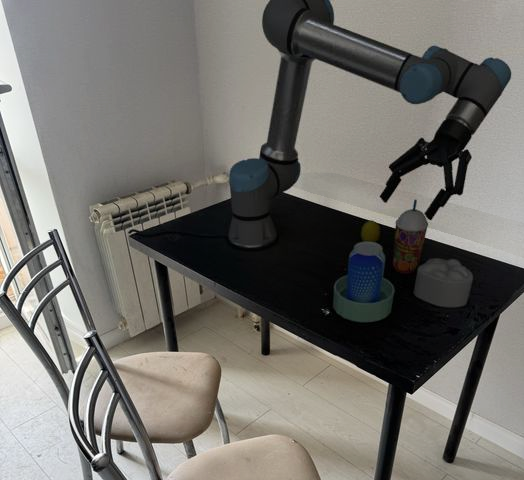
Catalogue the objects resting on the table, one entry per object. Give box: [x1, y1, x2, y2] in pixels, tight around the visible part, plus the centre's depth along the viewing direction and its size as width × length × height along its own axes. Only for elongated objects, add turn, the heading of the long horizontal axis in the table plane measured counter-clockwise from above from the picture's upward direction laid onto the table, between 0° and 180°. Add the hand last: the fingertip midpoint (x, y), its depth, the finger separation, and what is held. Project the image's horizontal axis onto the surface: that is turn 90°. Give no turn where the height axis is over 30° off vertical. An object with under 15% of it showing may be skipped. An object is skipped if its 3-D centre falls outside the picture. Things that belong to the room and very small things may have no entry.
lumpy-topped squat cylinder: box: [413, 257, 474, 308], centre depth 127 cm, size 10×13×9 cm
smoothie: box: [392, 199, 429, 275], centre depth 134 cm, size 8×8×20 cm
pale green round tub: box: [332, 274, 396, 323], centre depth 125 cm, size 15×15×6 cm
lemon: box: [360, 219, 381, 243], centre depth 150 cm, size 6×6×8 cm
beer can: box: [346, 241, 386, 303], centre depth 121 cm, size 8×8×16 cm
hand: (404, 208), depth 117 cm, fingers open, 13 cm apart
